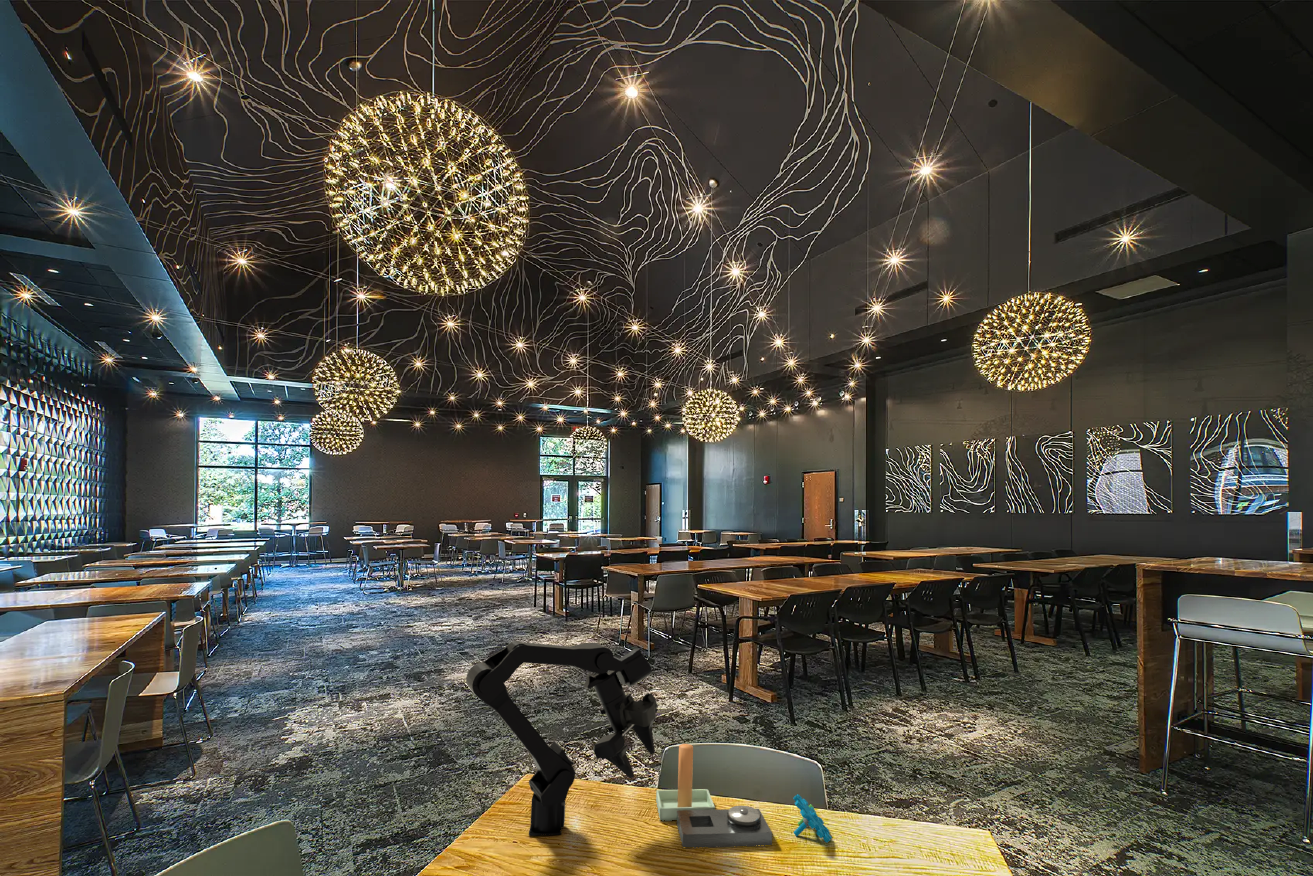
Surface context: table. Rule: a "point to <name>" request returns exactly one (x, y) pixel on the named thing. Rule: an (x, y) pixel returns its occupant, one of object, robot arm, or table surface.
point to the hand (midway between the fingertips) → (642, 765)
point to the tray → (669, 803)
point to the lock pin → (685, 775)
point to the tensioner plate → (723, 827)
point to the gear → (810, 819)
